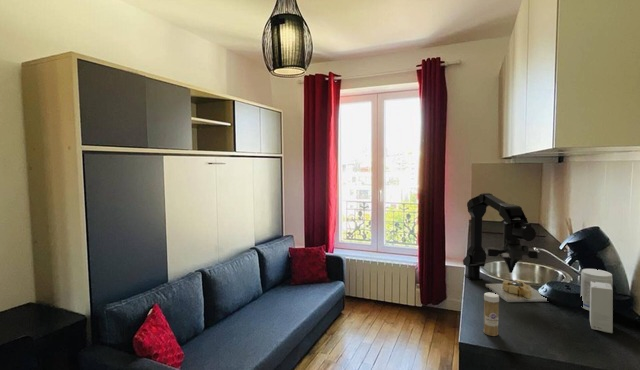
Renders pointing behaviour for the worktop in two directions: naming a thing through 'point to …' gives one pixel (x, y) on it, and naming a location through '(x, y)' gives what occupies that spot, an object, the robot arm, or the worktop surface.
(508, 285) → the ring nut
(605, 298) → the skincare box
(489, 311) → the sprinkles bottle
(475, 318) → the worktop surface
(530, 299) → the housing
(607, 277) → the supplement tub
